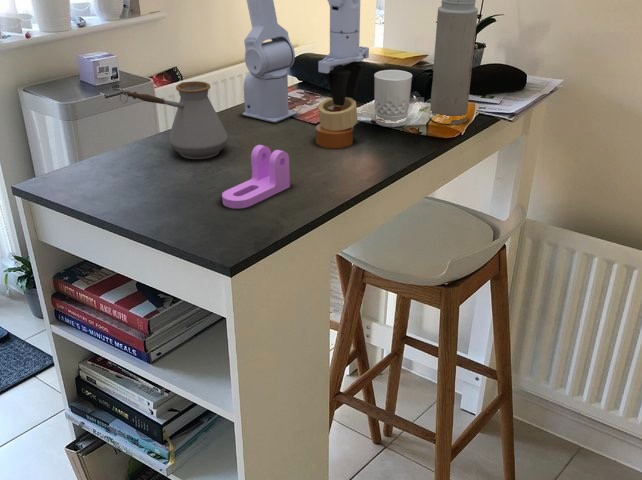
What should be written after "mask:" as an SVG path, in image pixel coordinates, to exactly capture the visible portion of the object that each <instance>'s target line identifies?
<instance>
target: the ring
mask: <svg viewBox="0 0 642 480" xmlns="http://www.w3.org/2000/svg"><path fill="white" fill-rule="evenodd" d="M330 106H339V107H341V111H339V112H330V111H328V107H330ZM357 108H358V107H357V102H356V100H355V99H354V100H353V99H352V98H348V97H345V102H344V105H343V106H340V105H335V104H334V103H333V99H332V97H330V98H326V99H324V100H323V101H322V102H319V104H318V108H317V109H318V117H319V124H320V125H321V126H322V127H323V128H324V129H327V130H331V131H332V130H333V131H339V130H345V129H348V128H351V127H352V126H353V127H354V126H355V125H357V123H358V110H357Z"/></svg>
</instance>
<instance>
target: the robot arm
mask: <svg viewBox="0 0 642 480" xmlns="http://www.w3.org/2000/svg"><path fill="white" fill-rule="evenodd" d="M327 2H328V5H329V53H328V54H326V56H325V57H324V58H323V59H321V60H319V61H318V62H317V63H318V69H317V70H318V73H321V74H323V76H324V78H325V80H326V82H327V84H328V87H329V90H330V94H331V98H332V99H333V103H334V104H335V105H340V106H343V105H344V102H345V97H348V98H352V99H353V100H354V101H355V98H356V94H357V90H358V86H359V83H360V80H361V78H362V76H363V73H364V72H365V70H366V68H367V63H366V62H363V61H364V59H366V60H367V59H368V58H369V57H370V47H367V46H360V37H361V36H360V35H361V31H360V30H361V0H327ZM246 4H247V9H248V15H249V19H250V23H251V29H250V31H249V32H248V34H247V35H246V37H245V38H244V40H243V43H244V49H245V51H244V62H245V66H246V68H247V70H248V71H249V72H248V73H246V75H245V77H244V80H243V101H244V102H243V103H244V112H242V116H244V117H249V118H253V119H257V120H262V121H266V122H269V123H274V124H275V123H278V122H280V121H283V120H286V119H287V118H290V117H292V116H295V115H296V114H298V111H296V110H293V109H289V84H288V83H289V82H288V81H289V79H288V74H289V73H291V67H293V65H294V63H295V60H296V51H295V48H294V46H293V44H292V42H291V40H290V37H289V31H287V29H286V28H284V27H283V26H281V24H279V23H278V17H277V13H276V7H275V1H274V0H246ZM268 40H270V41H268ZM265 41H266V42H265Z"/></svg>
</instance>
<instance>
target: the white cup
mask: <svg viewBox="0 0 642 480" xmlns="http://www.w3.org/2000/svg"><path fill="white" fill-rule="evenodd" d="M373 78H374V79H373V81H374V82H373V83H374V85H373V86H374V87H373V88H374V90H373V92H374V111H375V116H376V115H377V116H378V117H380V118H383V119H384V120H391V121H397V120H401V119H404V118H406V117H407V119H406V120H405V121H403V122H399V123H385V122H381V121H378V120H377V119H376V118H375V119H374V120H375V124H377V126H381V127H386V128H398V127H403V126H405V125H406V124H407V122H408V115H409V114H408V113H409V108H410V100H411V91H412V81H413V74H412V73H411V72H408V71H406V70H400V69H384V70H379V71H377V72H375V73H374V75H373Z"/></svg>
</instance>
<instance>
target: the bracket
mask: <svg viewBox="0 0 642 480" xmlns="http://www.w3.org/2000/svg"><path fill="white" fill-rule="evenodd" d="M250 164H251V165H250V166H251V178H250V179H248V180H246V181H244V182H242V183H240V184H237V185H234V186H233V187H231V188H228V189H226V190H224V191H223V192H222V193H221V198H222V205H223V206H224V207H226V208H229V209H237V210H238V209H246V208H250V207H252V206H254V205H256V204H258V203H260V202H262V201H264V200H266V199H268V198H270V197H272V196H275V195H276V194H278V193H281V192H283V191H284V190H288V189H289V188H290V187H291V173H290V155H289V154H288V152H287V151H284V150H281V149H275V150H274V151H272V152H271V149H270V147H268V146H266V145H263V144H256V145H255V146H254V148H253V149H252V151H251V154H250Z"/></svg>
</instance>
